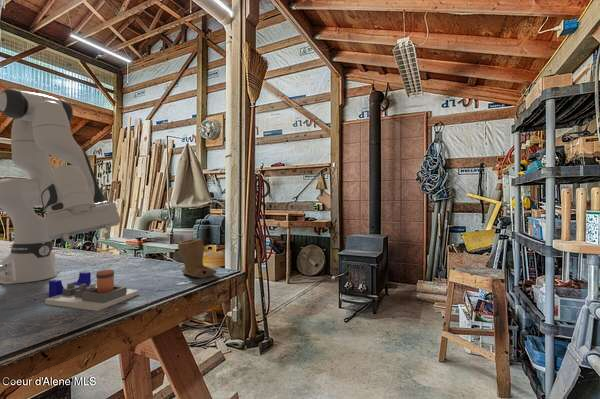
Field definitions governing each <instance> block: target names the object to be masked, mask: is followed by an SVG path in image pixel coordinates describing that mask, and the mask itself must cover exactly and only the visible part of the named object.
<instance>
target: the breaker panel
mask: <svg viewBox="0 0 600 399" xmlns="http://www.w3.org/2000/svg"><path fill="white" fill-rule="evenodd" d="M136 296H139V290H138V289H133V288H132V289H131V288H128V287H127V286H124V285H121V284H114V290H113V291H110V292H107V293H104V294H103V293H97V282H96V283H95V282H91V284H89V286H87V284H81V285H79V286H75V281H73V282H69V283H66V287H64V289H62V294H60V295H57V296H54V297H50V298H49V297H48V298H45V299H44V305H49V306H55V307H56V306H58V307H64V308H71V309H80V310H81V309H82V310H86V311H87V310H88V311H95V312H99V311H101V310H103V309H107V308H108V307H112V306H114V305H116V304H119V303H122V302H123V301H127V300H128V299H131V298H134V297H136Z"/></svg>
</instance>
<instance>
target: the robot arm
mask: <svg viewBox="0 0 600 399" xmlns="http://www.w3.org/2000/svg"><path fill="white" fill-rule="evenodd" d="M73 111H74V110H73V107H72V106H71V104H70V103H69V102H68V101H66V100H64V99H62V98H56V97H53V96H49V95H46V94H43V93H36V92H31V91H25V90H20V89H16V88H5V89H4V90H2V91H1V92H0V112H1V113H2V114H3V116H6V117H8V118H11V119H14V120H13V121H12V126H11V130H10V131H11V132H10V133H11V134H10V135H11V136H10V144H11V145H10V146H11V161H12V163H13V164H14V166H16V167H17V168H18V169H21V170H24V171H25V172H26V173H27V174H28V175H29V176H30V178H19V177H18V178H16V177H10V178H1V179H0V209H1V210H2V211H4V213H6V215H8V217H9V219H10V221H11V223H12V229H13V244H10V245H9V246H10V247H9V249H10V254H8V255H7V256H6V257H5V258H4V259H2V260H1V261H0V284H3V285H14V284H22V283H32V282H38V281H43V280H48V279H52V278H54V277H56V276H57V275H58V274H59V273H60V271H59V269H57V262H56V256H55V253H53V249H54V248H53V247H54V243H53V240H58V239H63V241H64V242H65V243H67V244H68V245H69V247H70V249H73V248H77V243H76V240H75V239H74V240H71V239H70V237H71V236H75V235H79V234H85V233H89V232H93V231H98V230H102V229H105V231H106V232H104V233H103V237H104V241H105V240H109V239H111V235H110V232H111V229H112V227H116V226H118V225H119V224H120V223H121V216H120V214H119V212H118V207H117V204H116V203H115V202H113V201H109V200H105V196H104V194H103V191H102V190H101V188H100V186H99V184H98V182H97V178H96V175H95V173H94V170H93V167H92V164H91V162H90V160H89V157H88V155H87V152H86V150H85V148H83V147H82V146H80V145H79V144H78V143H77V141H76V140H75V139H74V137H73V134H72V129H71V125H70V123H71V121H72V120H73V117H74V116H73V115H74V112H73ZM50 156H51V157H53V158H57V159H59V160H62V161H64V162H67V163H68V164H62V165H58V166H56V167H54V168H53V167H52V164H51V159H50ZM37 207H39V208H41V207H43V208H44V209H45V211H46V217H44V216H41V215H38V214H37V213H36V211H35V208H37Z"/></svg>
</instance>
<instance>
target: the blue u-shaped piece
mask: <svg viewBox="0 0 600 399" xmlns="http://www.w3.org/2000/svg"><path fill="white" fill-rule="evenodd" d="M91 276H92V275H91V272H90V271H82V272H79V276H78V279H77V280H76V281H74V282H75V286H79V285H81V284H87V286H89V284H92V281H91V280H92V279H91V278H92V277H91ZM64 288H65V287H64V286H63V283H62V280H61V279H52V280H49V281H48V298H50V297H54V296H57V295H60V294H62V289H64Z"/></svg>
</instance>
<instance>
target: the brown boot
mask: <svg viewBox="0 0 600 399" xmlns="http://www.w3.org/2000/svg"><path fill="white" fill-rule="evenodd" d="M203 242H204V241H203V240H202V239H201V238H192V239H187V240H182V241H180V242H178V244H177V245H178V247H177V248H178V249H177V250H178V253H179V255H180V257H181V259H182V261H183V264H184V268H183V269H181V273H183V274H185V275H188V276H191V277H194V278H200V279H202V278H203V279H204V278H208V277H209V278H210V277H211V276H213V275H216V274H217V270H216V269H213V268H211V267H207V266H205V265H204V260H203V259H204V243H203Z"/></svg>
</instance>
